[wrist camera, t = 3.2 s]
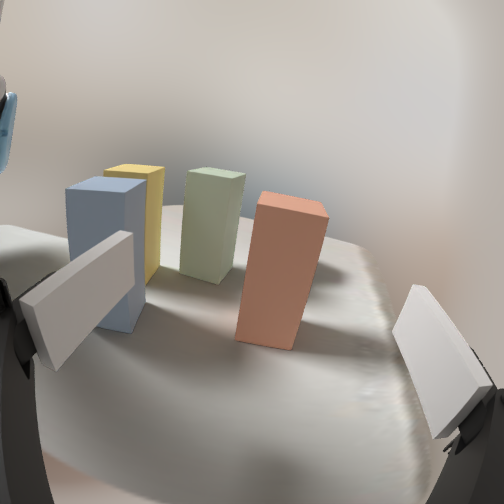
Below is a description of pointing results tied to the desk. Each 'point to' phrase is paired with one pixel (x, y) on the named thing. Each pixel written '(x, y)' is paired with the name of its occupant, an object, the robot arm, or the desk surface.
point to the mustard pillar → (147, 209)
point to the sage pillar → (210, 222)
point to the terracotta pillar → (280, 268)
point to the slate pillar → (110, 233)
